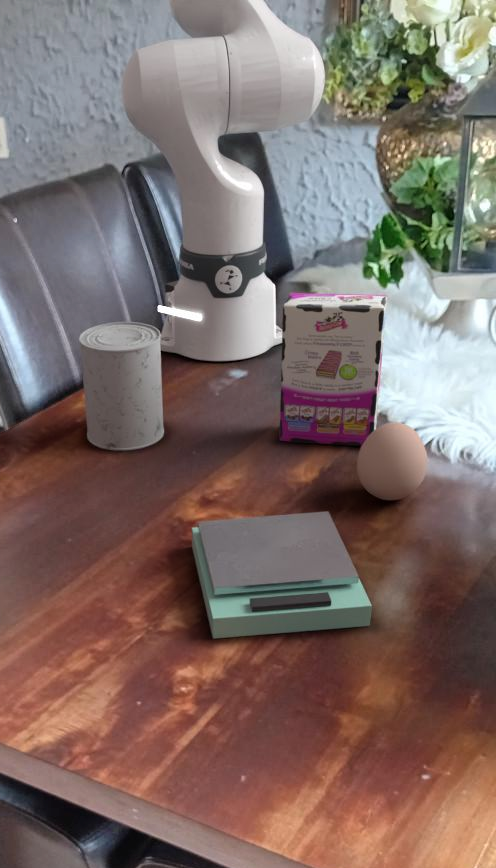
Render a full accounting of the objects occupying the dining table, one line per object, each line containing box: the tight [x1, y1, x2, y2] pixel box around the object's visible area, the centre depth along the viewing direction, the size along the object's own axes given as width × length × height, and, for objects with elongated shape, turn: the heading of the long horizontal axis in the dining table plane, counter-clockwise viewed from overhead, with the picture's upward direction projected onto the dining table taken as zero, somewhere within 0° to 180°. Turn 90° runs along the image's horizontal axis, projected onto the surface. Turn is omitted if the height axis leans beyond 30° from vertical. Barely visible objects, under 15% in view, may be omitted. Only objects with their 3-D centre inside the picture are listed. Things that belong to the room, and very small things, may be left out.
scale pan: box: [197, 510, 360, 595], centre depth 94 cm, size 12×13×1 cm
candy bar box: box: [278, 292, 388, 447], centre depth 116 cm, size 11×5×16 cm, turn 74°
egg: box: [356, 421, 428, 501], centre depth 105 cm, size 7×7×8 cm
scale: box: [191, 526, 373, 640], centre depth 94 cm, size 16×14×3 cm
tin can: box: [78, 321, 165, 452], centre depth 120 cm, size 10×10×12 cm
